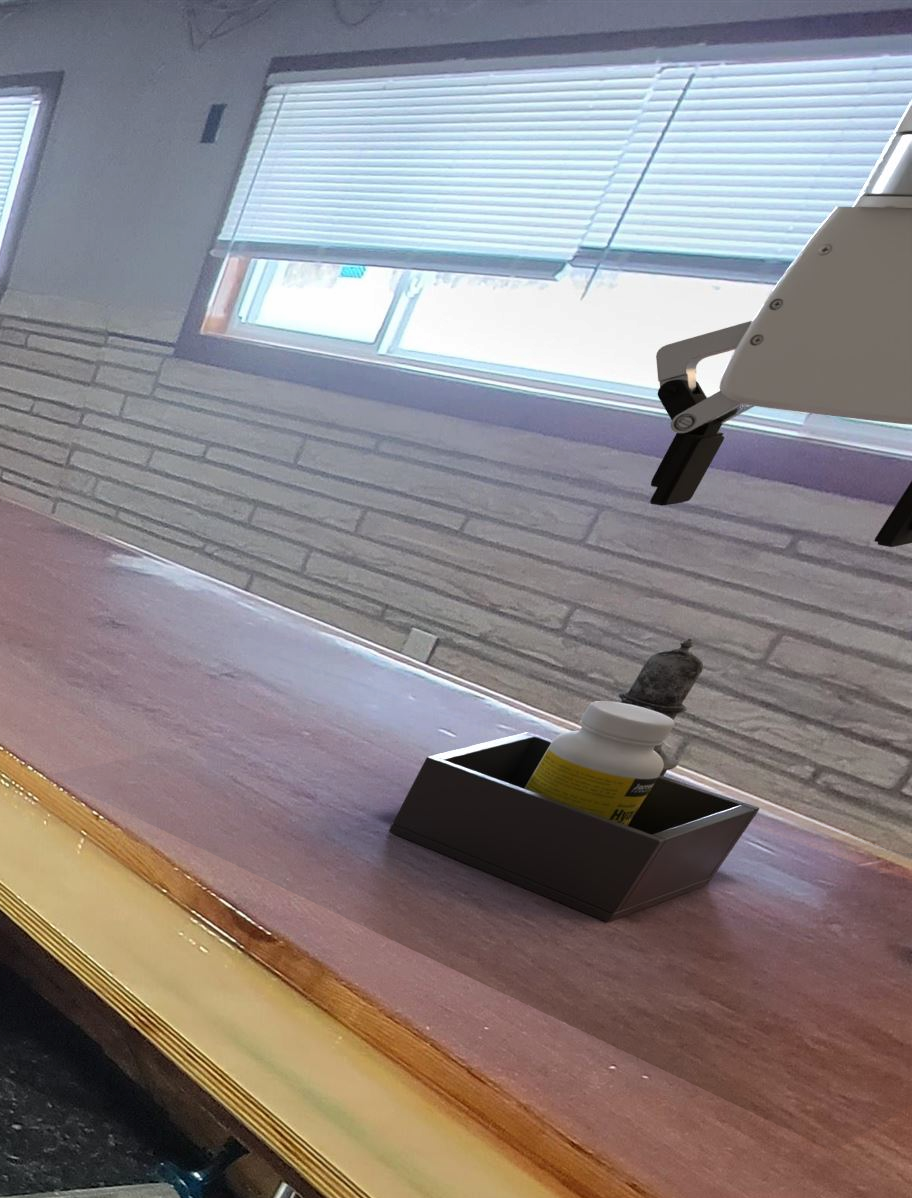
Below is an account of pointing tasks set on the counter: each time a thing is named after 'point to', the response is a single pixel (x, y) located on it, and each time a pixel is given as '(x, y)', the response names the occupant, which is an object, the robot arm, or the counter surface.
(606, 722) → the supplement bottle
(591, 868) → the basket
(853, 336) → the robot arm
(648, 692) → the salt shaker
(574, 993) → the counter surface
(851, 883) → the counter surface
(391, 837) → the counter surface
